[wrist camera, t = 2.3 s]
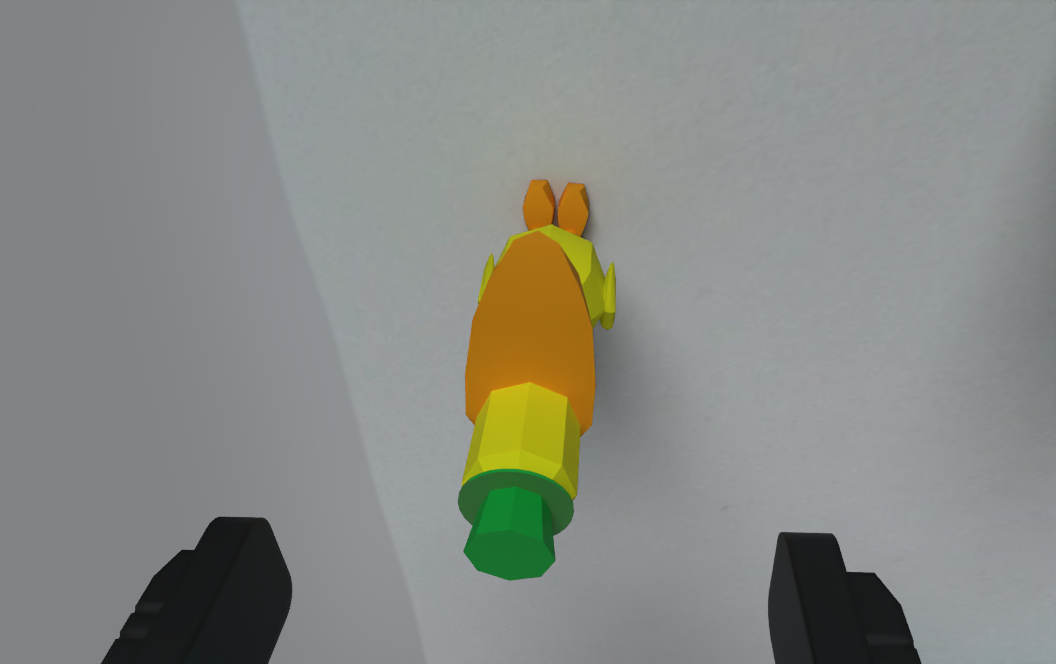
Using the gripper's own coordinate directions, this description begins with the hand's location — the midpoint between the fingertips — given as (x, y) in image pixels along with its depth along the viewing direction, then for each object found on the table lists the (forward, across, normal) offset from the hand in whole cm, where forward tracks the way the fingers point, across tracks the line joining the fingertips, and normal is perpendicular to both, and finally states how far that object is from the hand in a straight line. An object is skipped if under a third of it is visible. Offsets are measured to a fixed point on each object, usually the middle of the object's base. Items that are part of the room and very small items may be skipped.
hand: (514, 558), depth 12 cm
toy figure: (+13, 0, 0) cm, 13 cm away
